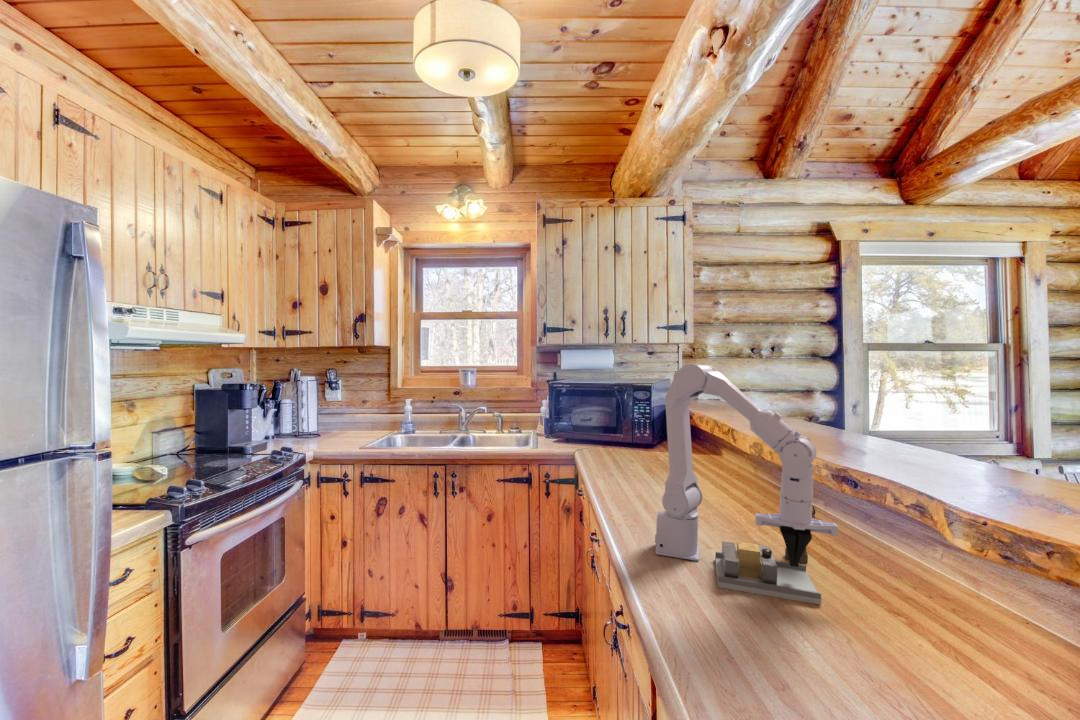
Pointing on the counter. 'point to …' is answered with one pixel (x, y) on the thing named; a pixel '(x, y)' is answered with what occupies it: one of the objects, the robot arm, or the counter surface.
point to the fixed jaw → (730, 560)
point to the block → (748, 560)
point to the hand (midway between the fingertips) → (793, 564)
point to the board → (789, 584)
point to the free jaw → (767, 566)
